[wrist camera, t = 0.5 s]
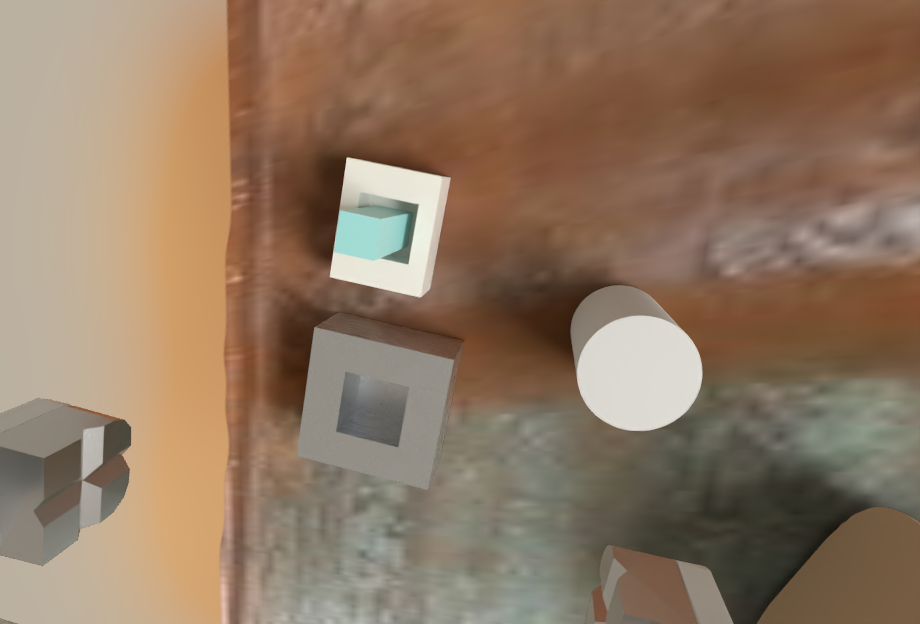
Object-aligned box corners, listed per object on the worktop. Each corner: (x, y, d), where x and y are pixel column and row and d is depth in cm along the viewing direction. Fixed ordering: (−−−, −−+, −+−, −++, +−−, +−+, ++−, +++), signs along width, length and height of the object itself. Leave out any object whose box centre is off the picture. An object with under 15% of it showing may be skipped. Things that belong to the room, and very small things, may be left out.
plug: (380, 205, 50) (339, 210, 40) (413, 212, 50) (380, 219, 40) (374, 239, 51) (333, 252, 41) (407, 246, 51) (374, 261, 41)
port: (339, 311, 54) (314, 327, 48) (464, 340, 53) (454, 360, 47) (322, 428, 57) (296, 455, 51) (440, 458, 55) (427, 489, 50)
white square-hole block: (362, 159, 50) (346, 157, 47) (450, 177, 50) (442, 176, 46) (345, 270, 53) (329, 276, 49) (429, 289, 52) (420, 297, 48)
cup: (558, 358, 52) (561, 408, 40) (588, 273, 50) (600, 299, 38) (646, 387, 51) (675, 446, 39) (680, 301, 49) (721, 337, 37)
